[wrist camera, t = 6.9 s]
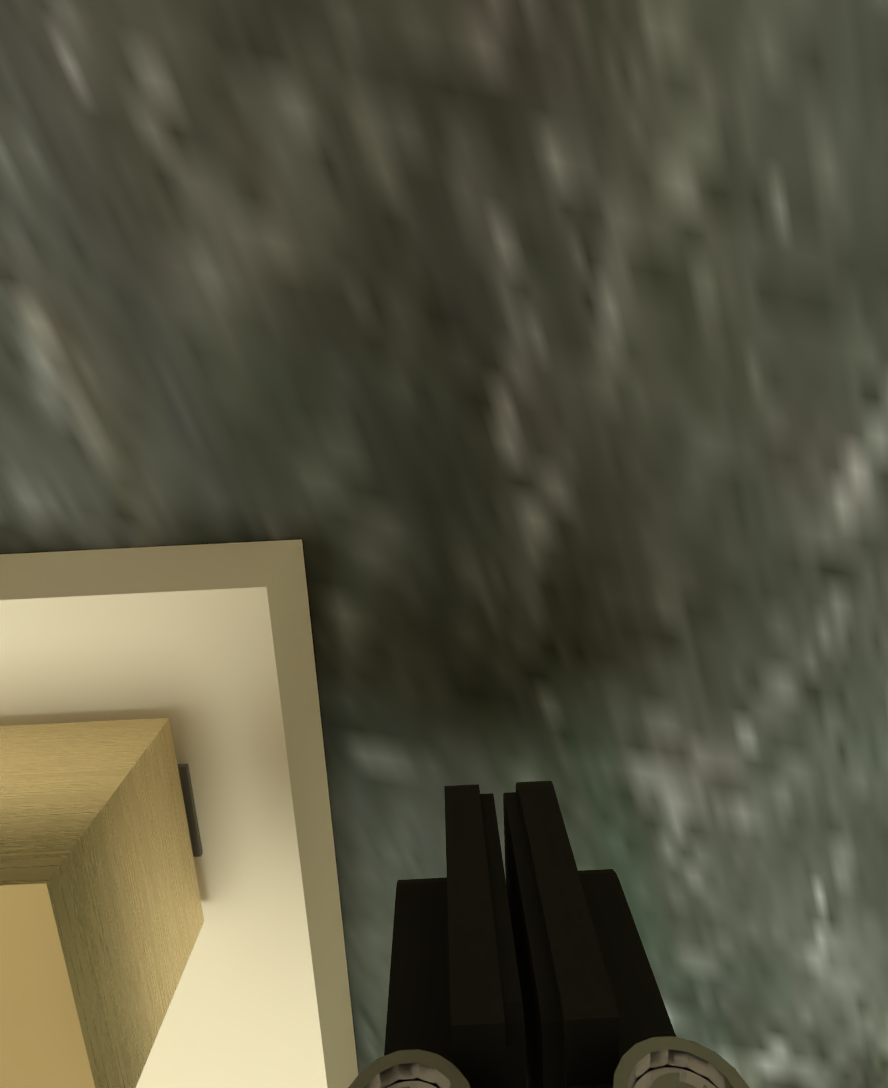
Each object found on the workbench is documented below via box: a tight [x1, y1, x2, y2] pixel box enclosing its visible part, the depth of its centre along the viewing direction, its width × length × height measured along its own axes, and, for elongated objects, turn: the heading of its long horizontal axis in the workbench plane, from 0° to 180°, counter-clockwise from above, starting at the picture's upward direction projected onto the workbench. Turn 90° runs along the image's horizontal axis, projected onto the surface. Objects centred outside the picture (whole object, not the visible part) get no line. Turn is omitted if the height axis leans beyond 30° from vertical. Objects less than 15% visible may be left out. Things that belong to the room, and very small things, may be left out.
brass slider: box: [0, 718, 204, 1088], centre depth 10 cm, size 4×4×4 cm
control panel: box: [0, 539, 358, 1088], centre depth 15 cm, size 14×22×3 cm, turn 3°
